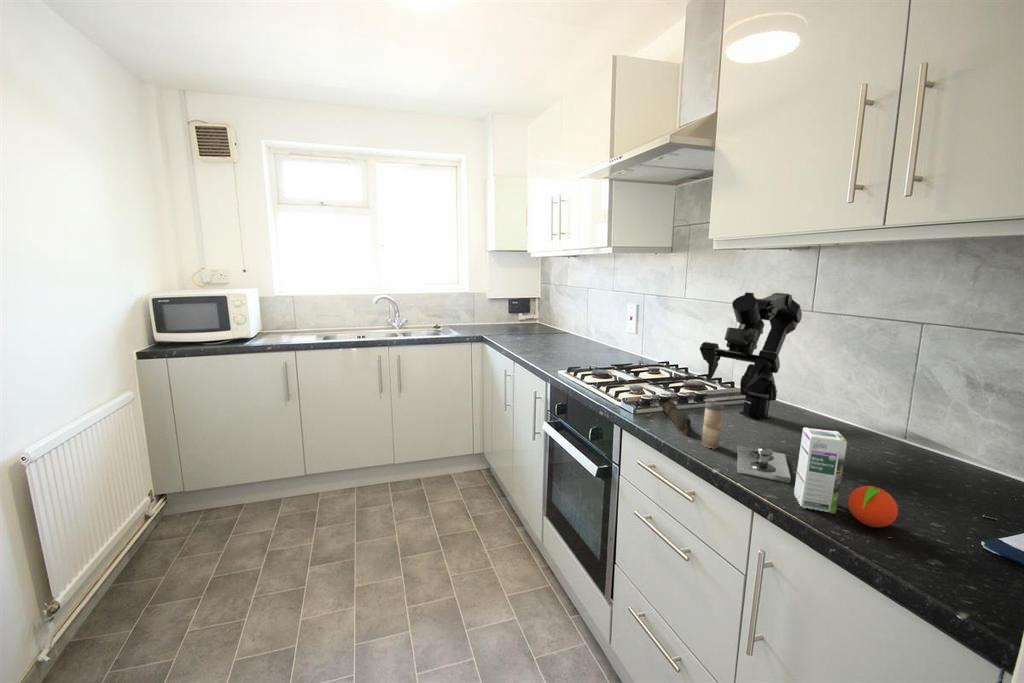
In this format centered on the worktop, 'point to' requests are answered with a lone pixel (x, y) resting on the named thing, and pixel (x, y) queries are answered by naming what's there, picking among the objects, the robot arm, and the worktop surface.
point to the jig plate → (754, 472)
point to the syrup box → (820, 469)
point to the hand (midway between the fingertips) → (727, 382)
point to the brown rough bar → (677, 417)
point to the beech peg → (712, 424)
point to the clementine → (873, 506)
